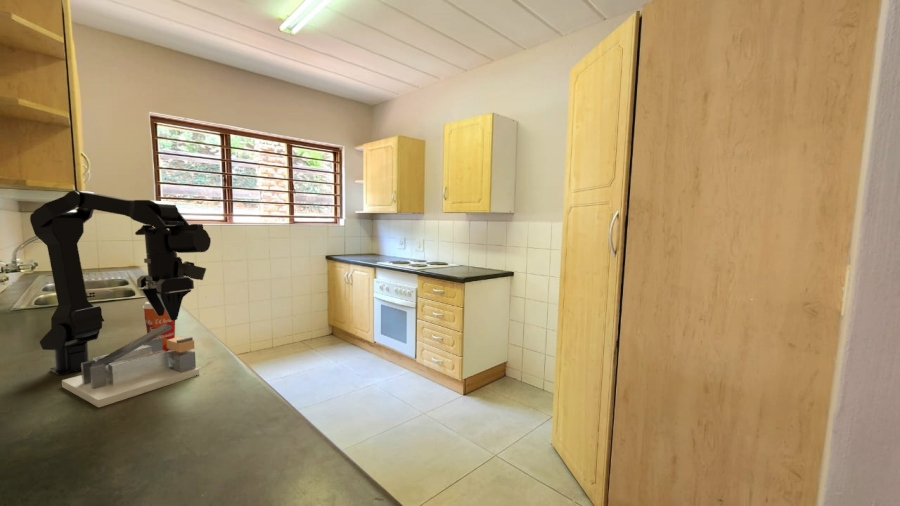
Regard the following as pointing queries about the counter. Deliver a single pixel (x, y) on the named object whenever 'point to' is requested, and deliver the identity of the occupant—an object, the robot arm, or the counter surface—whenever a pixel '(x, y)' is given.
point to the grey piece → (137, 365)
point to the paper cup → (158, 323)
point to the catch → (180, 344)
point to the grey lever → (132, 346)
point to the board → (124, 387)
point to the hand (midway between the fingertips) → (167, 317)
